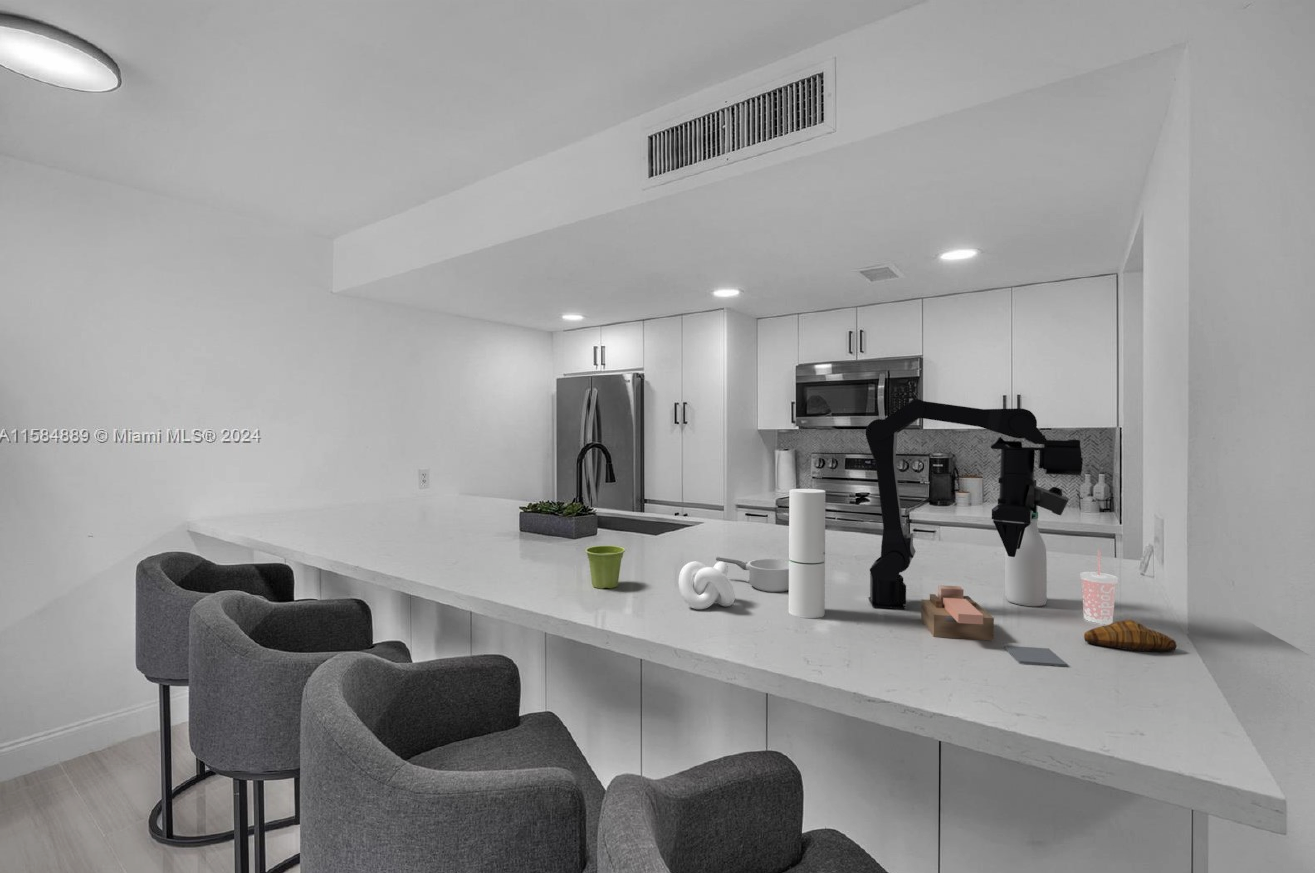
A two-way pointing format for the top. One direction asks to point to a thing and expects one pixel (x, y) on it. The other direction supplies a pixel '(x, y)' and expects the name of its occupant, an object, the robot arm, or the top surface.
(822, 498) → the cylindrical container
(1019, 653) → the pad
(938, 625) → the dispenser
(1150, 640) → the croissant
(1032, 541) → the milk bottle
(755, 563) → the saucepan
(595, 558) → the plant pot
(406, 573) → the top surface
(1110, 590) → the beverage cup
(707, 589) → the white decorative knot
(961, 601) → the salmon pink rectangular block
